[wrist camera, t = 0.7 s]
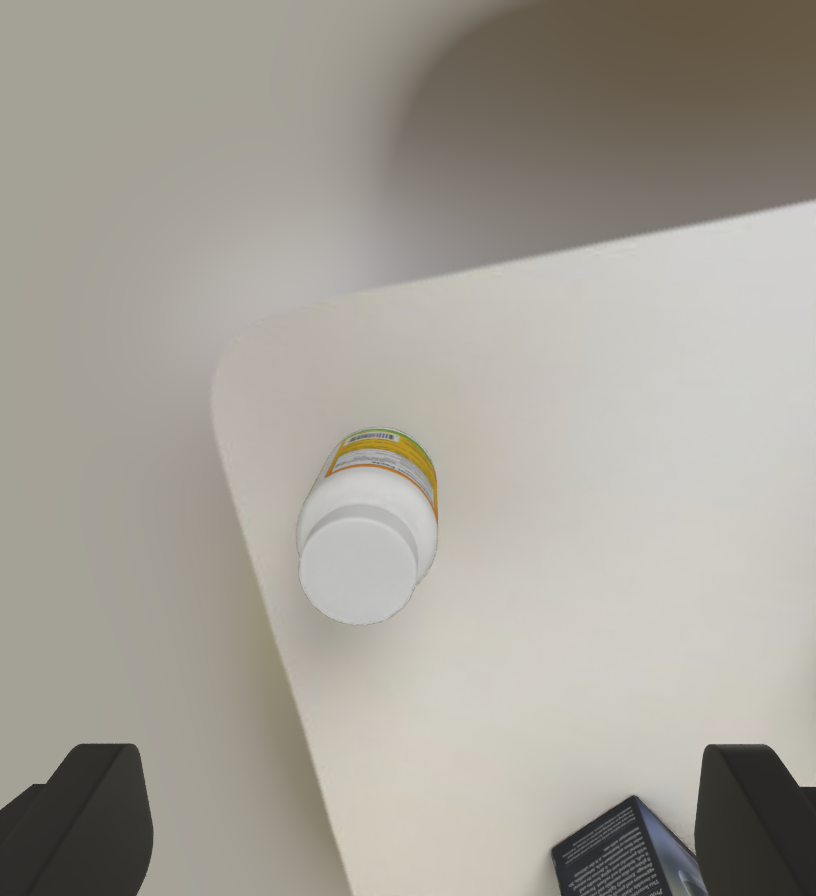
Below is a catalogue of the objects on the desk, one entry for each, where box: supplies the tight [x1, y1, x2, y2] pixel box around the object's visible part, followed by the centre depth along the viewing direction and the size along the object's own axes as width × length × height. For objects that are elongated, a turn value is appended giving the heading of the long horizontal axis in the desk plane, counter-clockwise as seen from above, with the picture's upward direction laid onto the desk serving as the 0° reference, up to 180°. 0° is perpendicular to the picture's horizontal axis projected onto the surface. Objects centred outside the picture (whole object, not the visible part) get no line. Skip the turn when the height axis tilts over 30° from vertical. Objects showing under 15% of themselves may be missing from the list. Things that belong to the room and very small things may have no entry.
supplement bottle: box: [296, 427, 438, 625], centre depth 26 cm, size 5×5×10 cm
